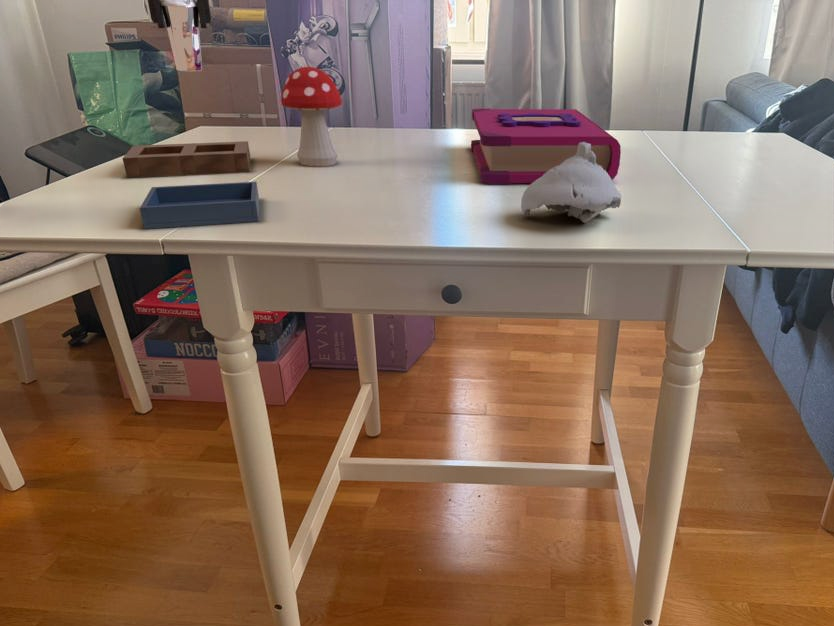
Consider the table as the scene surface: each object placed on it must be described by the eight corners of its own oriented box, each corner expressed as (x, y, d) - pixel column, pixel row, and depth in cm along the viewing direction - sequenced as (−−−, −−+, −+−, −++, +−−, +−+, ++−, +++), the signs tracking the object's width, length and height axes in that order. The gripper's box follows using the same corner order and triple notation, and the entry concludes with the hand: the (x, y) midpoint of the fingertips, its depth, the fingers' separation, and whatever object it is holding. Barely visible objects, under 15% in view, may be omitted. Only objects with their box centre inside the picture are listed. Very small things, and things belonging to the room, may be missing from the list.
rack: (126, 178, 103) (122, 158, 102) (137, 164, 112) (133, 145, 110) (249, 172, 107) (246, 152, 106) (250, 159, 116) (247, 141, 114)
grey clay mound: (563, 222, 94) (584, 144, 91) (629, 243, 86) (655, 159, 83) (501, 211, 86) (522, 126, 83) (568, 234, 78) (594, 141, 75)
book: (581, 147, 128) (584, 105, 124) (617, 183, 103) (623, 132, 99) (470, 148, 126) (470, 105, 123) (481, 184, 102) (481, 132, 98)
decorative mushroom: (356, 160, 116) (348, 65, 109) (333, 170, 109) (323, 70, 102) (304, 156, 118) (293, 63, 111) (278, 166, 111) (265, 68, 104)
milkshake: (185, 73, 89) (171, -14, 84) (165, 69, 92) (151, -15, 87) (216, 71, 92) (205, -12, 87) (196, 68, 95) (185, -13, 90)
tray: (144, 229, 81) (139, 207, 80) (156, 206, 90) (151, 187, 88) (258, 221, 84) (255, 200, 83) (259, 200, 93) (256, 181, 91)
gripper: (219, -122, 86) (240, 27, 94) (96, -129, 82) (128, 26, 90) (217, -131, 80) (239, 29, 88) (83, -139, 76) (119, 29, 84)
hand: (183, 27), depth 89 cm, fingers closed on milkshake, 4 cm apart
